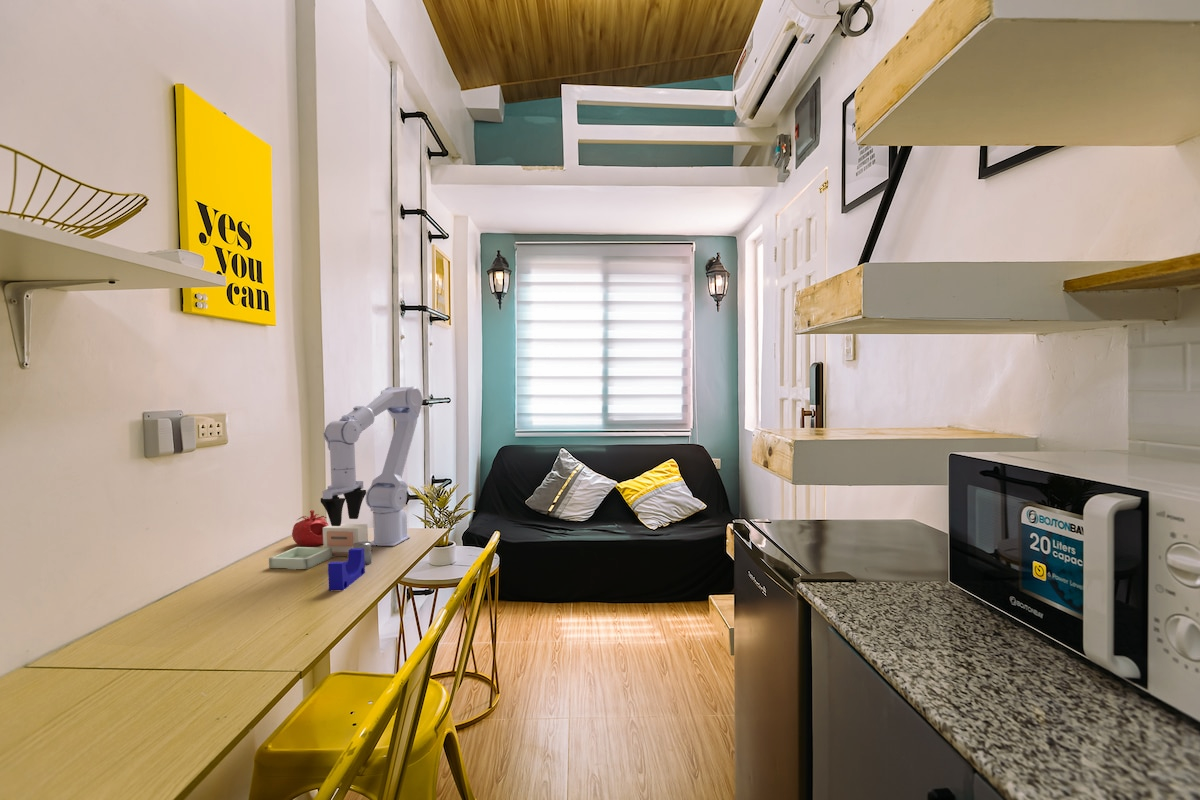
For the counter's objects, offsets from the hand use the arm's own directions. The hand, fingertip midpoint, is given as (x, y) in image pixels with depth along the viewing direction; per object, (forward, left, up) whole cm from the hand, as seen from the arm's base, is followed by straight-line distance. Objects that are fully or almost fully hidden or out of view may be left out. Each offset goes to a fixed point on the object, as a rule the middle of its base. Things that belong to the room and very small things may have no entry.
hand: (345, 522), depth 154 cm
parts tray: (+4, -9, -9) cm, 14 cm away
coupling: (+3, +7, -9) cm, 12 cm away
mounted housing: (-5, -3, -9) cm, 11 cm away
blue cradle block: (+16, +10, -10) cm, 22 cm away
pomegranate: (-13, -18, -10) cm, 24 cm away
